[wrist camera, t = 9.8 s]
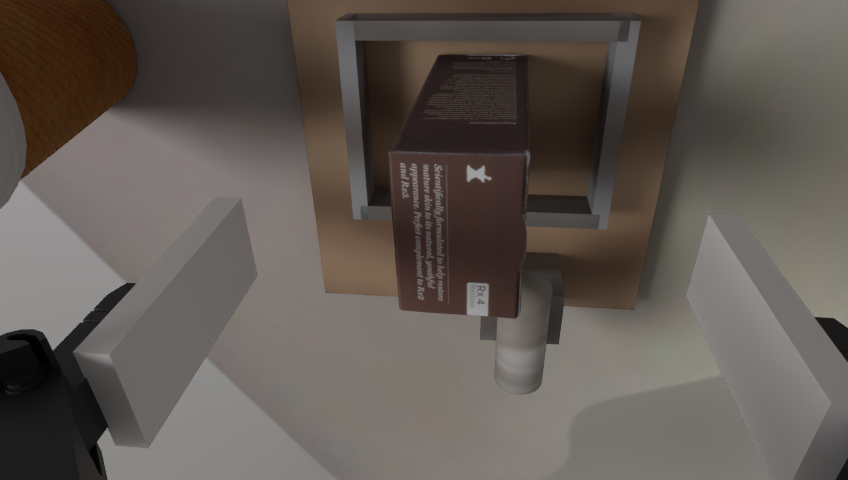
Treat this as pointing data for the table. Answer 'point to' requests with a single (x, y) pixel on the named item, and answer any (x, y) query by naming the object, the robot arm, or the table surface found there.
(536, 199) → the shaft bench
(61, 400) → the robot arm
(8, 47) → the disposable coffee cup
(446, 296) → the box
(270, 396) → the table surface
